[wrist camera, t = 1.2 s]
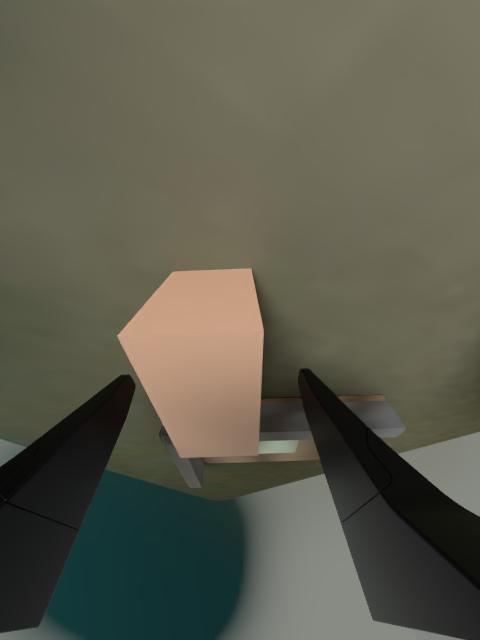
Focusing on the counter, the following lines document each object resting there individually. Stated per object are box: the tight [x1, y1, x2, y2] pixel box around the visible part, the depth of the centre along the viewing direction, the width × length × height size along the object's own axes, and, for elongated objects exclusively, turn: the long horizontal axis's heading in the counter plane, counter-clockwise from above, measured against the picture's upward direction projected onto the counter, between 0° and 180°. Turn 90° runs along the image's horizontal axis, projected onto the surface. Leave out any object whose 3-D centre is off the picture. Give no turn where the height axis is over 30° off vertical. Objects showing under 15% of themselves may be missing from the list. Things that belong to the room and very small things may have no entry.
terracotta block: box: [117, 269, 264, 458], centre depth 11 cm, size 4×9×6 cm, turn 2°
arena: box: [159, 395, 406, 488], centre depth 20 cm, size 20×13×3 cm, turn 92°
